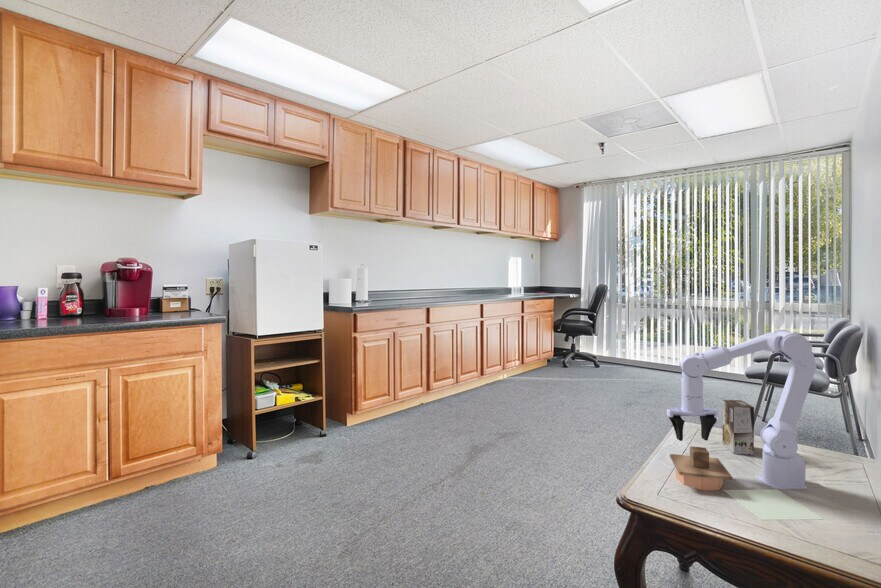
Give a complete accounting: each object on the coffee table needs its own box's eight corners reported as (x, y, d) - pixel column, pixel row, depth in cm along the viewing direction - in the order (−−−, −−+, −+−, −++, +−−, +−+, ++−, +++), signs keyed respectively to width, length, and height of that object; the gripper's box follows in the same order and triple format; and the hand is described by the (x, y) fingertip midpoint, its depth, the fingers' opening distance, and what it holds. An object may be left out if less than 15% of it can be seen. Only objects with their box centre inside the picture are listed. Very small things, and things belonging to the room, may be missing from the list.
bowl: (706, 473, 133) (706, 459, 133) (730, 491, 122) (730, 475, 122) (670, 474, 133) (670, 459, 133) (690, 492, 122) (690, 476, 122)
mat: (777, 491, 122) (777, 489, 122) (823, 521, 107) (823, 519, 107) (723, 491, 122) (723, 490, 122) (761, 521, 107) (761, 519, 107)
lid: (717, 460, 132) (717, 443, 131) (732, 480, 119) (732, 461, 119) (669, 456, 135) (669, 439, 135) (679, 474, 123) (679, 456, 123)
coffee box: (754, 455, 146) (755, 407, 146) (733, 454, 147) (733, 406, 147) (741, 444, 155) (742, 399, 154) (721, 443, 156) (722, 399, 156)
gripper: (708, 391, 137) (708, 434, 138) (661, 392, 137) (661, 435, 138) (722, 397, 130) (722, 442, 131) (673, 398, 130) (673, 443, 131)
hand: (692, 439), depth 134 cm, fingers open, 7 cm apart
